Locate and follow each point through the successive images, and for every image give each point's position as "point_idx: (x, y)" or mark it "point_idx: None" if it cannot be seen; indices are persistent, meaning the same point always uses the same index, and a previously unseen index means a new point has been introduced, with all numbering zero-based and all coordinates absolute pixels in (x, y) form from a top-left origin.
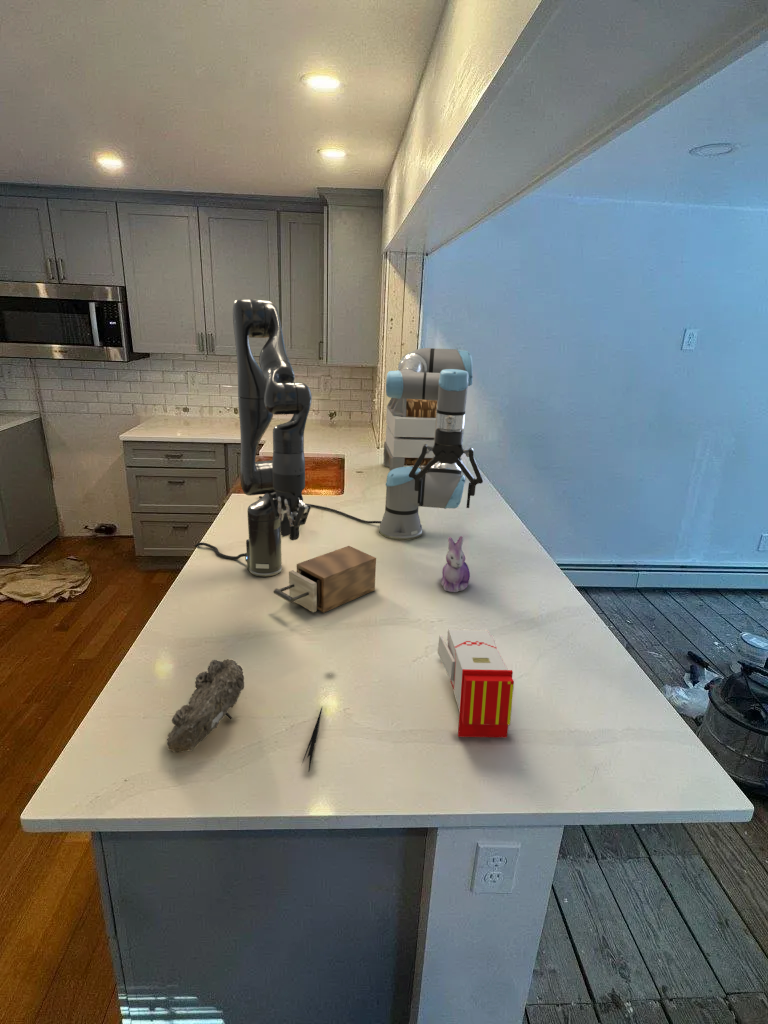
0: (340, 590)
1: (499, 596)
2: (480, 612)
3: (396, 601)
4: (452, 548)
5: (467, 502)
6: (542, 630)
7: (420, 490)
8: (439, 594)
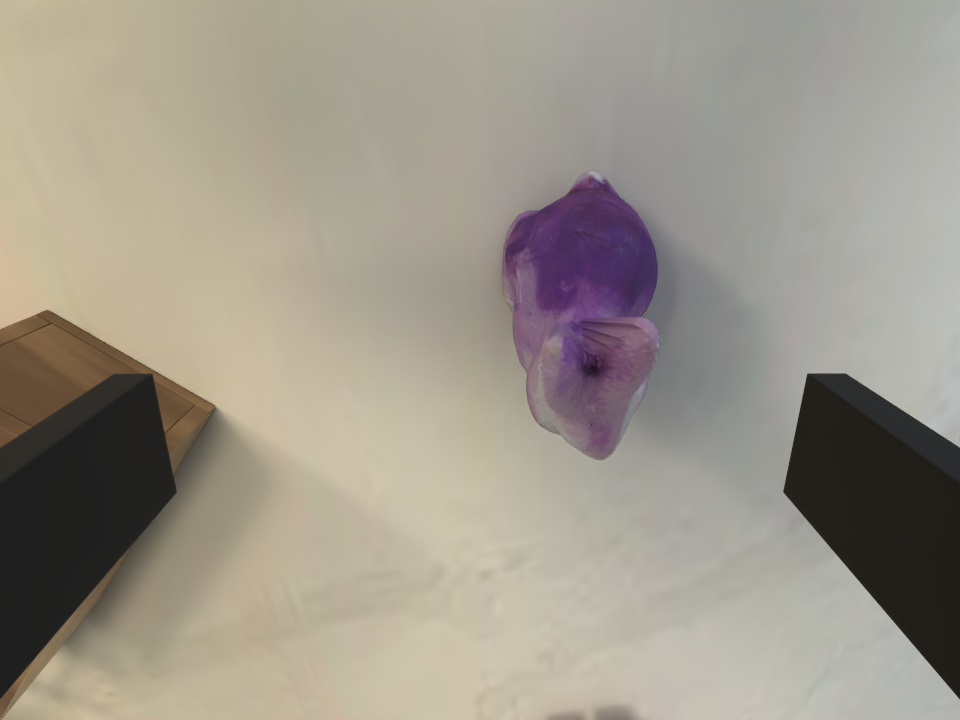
0: (93, 592)
1: (775, 333)
2: (669, 481)
3: (329, 472)
4: (570, 417)
5: (830, 537)
6: None
7: (48, 629)
8: (500, 377)
